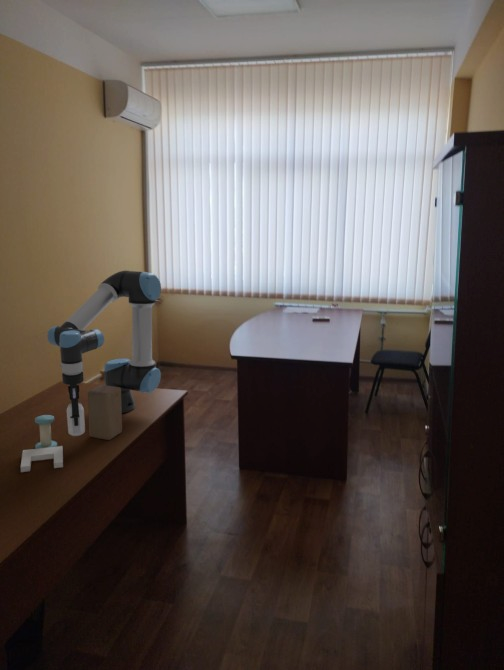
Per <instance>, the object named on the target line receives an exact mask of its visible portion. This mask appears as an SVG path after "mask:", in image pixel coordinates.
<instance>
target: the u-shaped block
mask: <svg viewBox="0 0 504 670" xmlns="http://www.w3.org/2000/svg"><path fill="white" fill-rule="evenodd" d="M63 448H64V447H63V445H60V446H59V445H57V447H48V448H39V449H35V448H32V449H23V450H22V454H21V461H20V462H21V463H20V473H25V472H26V473H27V472H30V471H31V467H32V466H31V465H32V462H37V461H45V460H53V468H54V469H57V468H59V469H60V468H64V454H63V453H64V451H63Z"/></svg>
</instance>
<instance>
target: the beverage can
mask: <svg viewBox="0 0 504 670" xmlns="http://www.w3.org/2000/svg"><path fill="white" fill-rule="evenodd" d="M78 406H79V415H80V431H81V433H73V424H72V418H70V417H71V416H72V404H71V402H70V403H68V405H67V408H66V420H67V431H68V435H70V436H72V437H78V436H81V435H83V434H85V432H86V424H85V422H86V421H85V410H84V409H85V408H84V407H83V404H82V403H81V402H79V401H78Z"/></svg>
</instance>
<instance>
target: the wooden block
mask: <svg viewBox="0 0 504 670" xmlns="http://www.w3.org/2000/svg"><path fill="white" fill-rule="evenodd" d="M87 410H88V432H89V437H90V438H95V439H99V440H100V439H101V440H105V441H110V440H112V439H114V438H115V437H117V436H118V435H120V434H121V433H122V432H123V419H122V418H123V416H122V414H123V413H122V408H121V388H120V387H113V386H107V385H105V384H100V385H98V386H96V387H94V388H92V389H90V390H88V392H87Z"/></svg>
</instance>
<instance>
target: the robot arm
mask: <svg viewBox="0 0 504 670" xmlns="http://www.w3.org/2000/svg"><path fill="white" fill-rule="evenodd" d="M161 292H162V284H161V281H160V279H159V277H158V276H157V275H156V274H155V273H152V272H147V271H134V270H121V271H118V272H116V273H114V274H111V275H110V276H108V277H107V278H105V279H104V280H103V281H102V282H101V283H100V284H98V287H97V290H96V291H95V292H94V293H93V294H92V295H91V296H90V297H89V298H88V299H87V300H86V301H85V302H84V303H83V304H82V305H81V306H79V308H78V309H76V311H75V312H74V313H72V315H70V316H69V318H67V319H66V320H65V321H64V322H63V323H62V324H61V326H59V325H57V326H56V325H55V326H52V327H50V328H49V330H48V332H47V340H48V343H49V344H51V345H53V346H56V347H59V352H60V362H61V364H59V367H60V368H61V372H62V373H61V375H62V377H61V378H62V384H64V385H68V386H67V391H68V393H69V395H68V396H69V401H70V403H71V404H72V416H71V417H70V418H72V424H73V433H81V431H80V415H79V406H78V402H79V400H80V385H79V384H82V383H83V382H84V372H83V371H84V363H83V354H85V353H89V352H90V351H93V350H94V351H95V350H97V349H99V348H101V347H102V346H103V345H104V342H105V336H104V334H103V332H102V331H101V330H99V329H97V328H93V329H89V330H85V329H86V328H87V327H88V326H89V325H90V324H91V323H92V322H94V320H95V319H96V318H97V317H98V316H99V315H100V314H101V313H102V312H103V311H104V310H105V309H106V308H107V307H108V306H109V305H110V304H111V303H113V302H116V301H117V300H118V299H119V298H124V297H125V298H128V304H129V305H130V306H131V307H132V309H131V313H132V314H131V315H132V316H131V317H132V318H131V319H132V321H131V322H132V324H131V326H132V327H131V328H132V330H131V332H132V333H131V334H132V335H131V336H132V339H131V340H132V359H131V360H130V359H129V358H116V359H112V360H108V361H107V362H105V364H104V370H103V373H104V374H103V377H104V385H107V386H113V387H120V388H121V408H122V414H124V413H128V412H131V411H133V410H134V409H135V408H136V402H135V400H134V397H133V394H132V391H135V392H140V393H146V394H147V393H148V394H149V393H152V392H154V391H156V389H157V388H158V386H159V384H160V381H161V378H162V373H161V370H160V369H159V368H158V367H156V361H155V360H154V359H153V307H154V305H155V304H156V300H158V299H159V298H160V296H161V295H160V294H161Z"/></svg>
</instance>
